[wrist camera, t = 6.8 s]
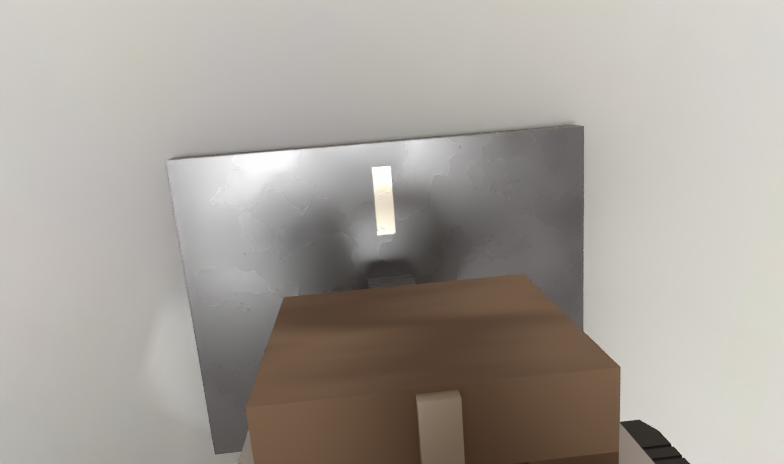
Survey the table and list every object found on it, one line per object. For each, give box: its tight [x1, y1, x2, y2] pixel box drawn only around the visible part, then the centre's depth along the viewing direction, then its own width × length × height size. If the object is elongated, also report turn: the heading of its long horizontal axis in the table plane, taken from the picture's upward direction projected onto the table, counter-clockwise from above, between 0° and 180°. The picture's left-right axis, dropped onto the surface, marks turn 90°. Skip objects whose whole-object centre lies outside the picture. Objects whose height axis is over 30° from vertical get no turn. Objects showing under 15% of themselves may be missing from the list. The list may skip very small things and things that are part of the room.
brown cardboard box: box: [246, 274, 620, 464], centre depth 14 cm, size 7×7×6 cm
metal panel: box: [166, 125, 584, 454], centre depth 24 cm, size 18×14×5 cm
